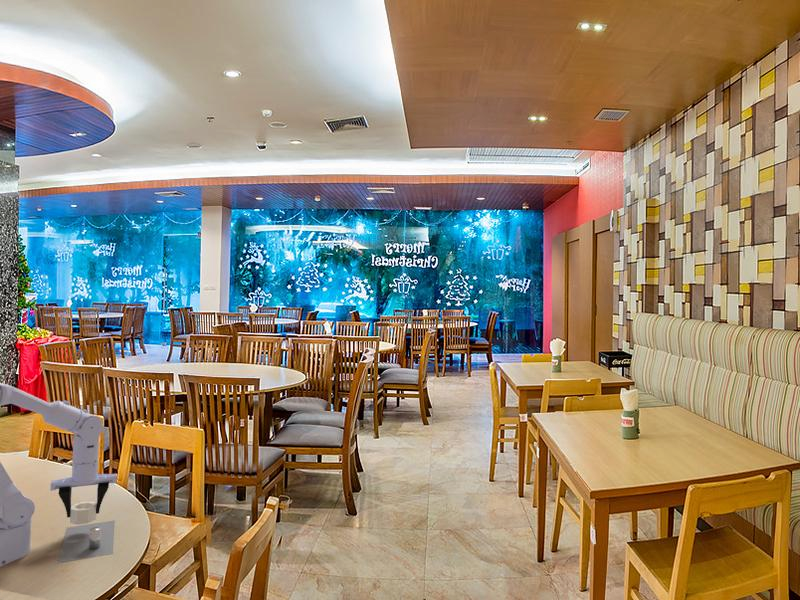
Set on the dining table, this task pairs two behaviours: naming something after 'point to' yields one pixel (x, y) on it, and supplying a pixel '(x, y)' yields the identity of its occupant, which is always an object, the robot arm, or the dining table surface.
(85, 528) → the gray board
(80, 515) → the cream ring
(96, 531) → the steel post
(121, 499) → the dining table surface
